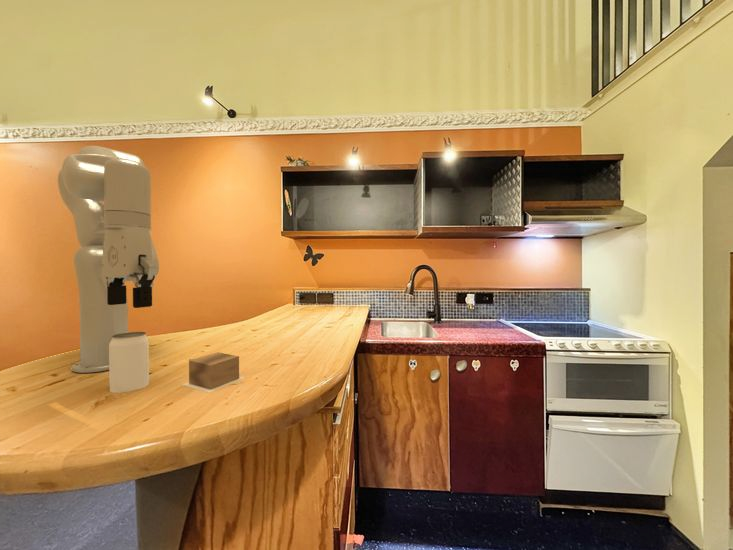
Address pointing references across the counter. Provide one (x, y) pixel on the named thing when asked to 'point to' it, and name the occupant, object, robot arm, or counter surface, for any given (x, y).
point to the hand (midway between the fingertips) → (129, 305)
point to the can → (128, 362)
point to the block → (213, 370)
